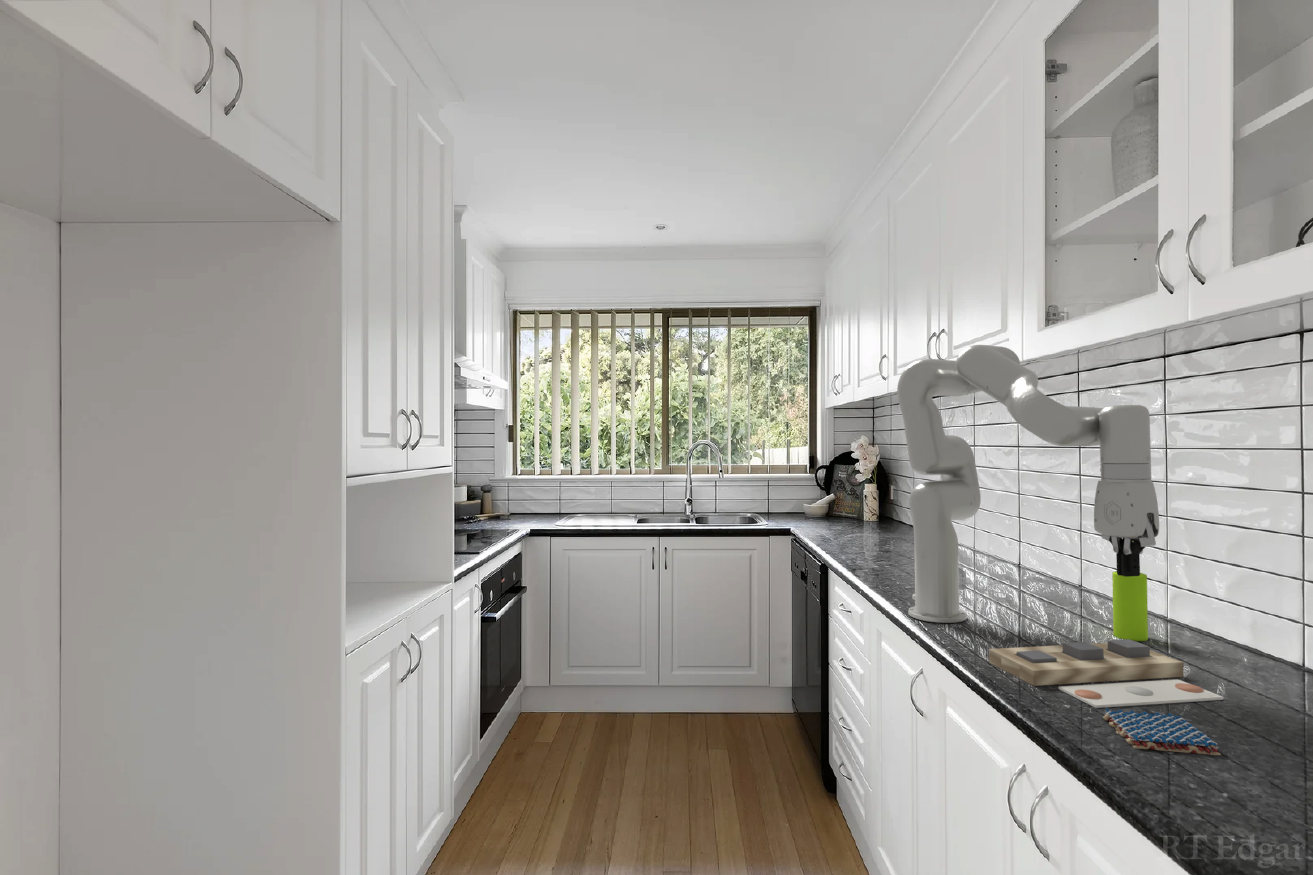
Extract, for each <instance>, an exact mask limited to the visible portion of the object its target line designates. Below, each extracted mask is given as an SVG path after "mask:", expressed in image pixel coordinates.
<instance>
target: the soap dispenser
mask: <svg viewBox="0 0 1313 875" xmlns="http://www.w3.org/2000/svg"><path fill="white" fill-rule="evenodd" d="M1111 576H1112V623H1113V624H1112V626H1113V627H1112V628H1113V629H1112V631H1113V636H1114V637H1115V638H1118V639H1120V640H1126V639H1130V640H1133V641H1135V642H1145V641H1148V639H1149V621H1148V620H1149V618H1148V617H1149V615H1148V614H1149V613H1148V610H1149V609H1148V575H1147V574H1145V573H1144V572H1143V573H1142V572H1140V575H1139V576H1130V577H1125V576H1121V575H1118V574H1117V570H1116V571H1113V572H1112V575H1111Z"/></svg>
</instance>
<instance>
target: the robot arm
mask: <svg viewBox="0 0 1313 875" xmlns="http://www.w3.org/2000/svg"><path fill="white" fill-rule="evenodd" d="M1038 385H1039V378H1038V375H1037V374H1036V373H1035V372H1034V371H1032V370H1031V369H1028V368H1027V367H1025V366H1023V365H1021V361H1020V358H1019V356H1018V355H1017V354H1016V353H1015V352H1014V350H1012V349H1011V348H1008V347H1005V346H996V345H989V344H974V345H970V346H968V347H966V348H965V349H962V350H961V352H960V353H959V354H958V356H957V358H956V360H949V359H939V358H938V359H937V358H925V359H919V360H916V361H914V362H912V363H910V364H909V365H907V366H906V368H904V370H903V371H902V373H901V374H900V377H899V379H898V383H897V388H896V389H897V391H896V392H897V400H898V404H899V408H900V411H901V415H902V420H903V424H904V433H905V439H906V440H905V441H906V448H907V454H908V459H909V463H910V466H911V469H912V471H913V472H915V473H917V474H919V475H922V476H940V478H941V480H940V479H939V480H929V481H925V482H921V483H919V484H917V485H916V486H915V487H914V488H913V490H912V491H911V492H910V495H909V498H908V506H909V512H910V516H911V520H912V528H913V546H914V548H913V549H914V553H913V554H914V593H913V594H912V595H911V598H912V600H914V601H915V602H914V606H911V607H909V608H908V610H907V611H908V612H907V613H908V615H909V616H910V617H912V618H914V619H916V620H920V621H924V622H930V623H938V624H952V623H953V624H954V623H961V622H964V621H966V620H967V619H968V615H967V612H965V611H963V610H962V609H960V571H959V568H960V567H959V564H960V563H959V540H958V535H957V532H956V529H955V527H954V525H953V521H959V520H966V519H969V518H973V516H975V515H976V514H977V513H978V511H979V510H980V507H981V496H982V495H981V489H980V483H979V478H978V472H977V470H978V469H977V465H976V464H977V463H976V460H975V455H974V451H973V449H972V448H971V446H970V444H969V443H968V442H967V441H966V440H965V439H964V438H962V437H961V436H957V435H952V434H951V435H949V434H946V433H945V429H944V424H943V417H942V414H941V411H940V410H939V407H938V405H936V403H935V401H934V400H933V397H934V396H938V397H962V396H968V395H971V394H977V393H979V392H983V393H985V394H987V395H988V396H990V397H991V398H993V399H994V400H996V401H998V402H999V403H1000V404H1002V405H1004V407H1006V410H1007V411H1008V413H1009V414H1010V415H1011V417H1012V418H1013V419H1014V421H1015V422H1016V423H1017V424H1019V426H1021V427H1022V428H1024V429H1025V430H1027V431H1028V432H1030V433H1031V434H1033V435H1035V436H1036V437H1038V438H1039V439H1041V440H1042V441H1044V442H1046V443H1048V444H1051V445H1053V446H1058V447H1093V446H1099V457H1100V458H1099V460H1100V461H1099V462H1100V468H1099V472H1100V480H1098V482H1097V484H1096V489H1095V496H1094V506H1093V507H1094V508H1093V528H1094V531H1095V532H1096V533H1098V534H1100V535H1101V538H1102V539H1103V540H1105V541H1107V542H1109V543H1110V544H1111V545H1112V550H1113V553H1115V555H1116V558H1115V560H1116V571H1117V574H1118V575H1121V576H1125V577H1130V576H1139V575H1140V573H1141V561H1140V555H1142V554H1143V553H1144V549H1145V548H1147V547H1154V546H1156V544H1157V542H1156V537H1158V536H1159V534H1160V513H1159V504H1158V500H1157V499H1158V498H1157V492H1156V487H1155V485H1154V482H1153V481H1152V464H1151V463H1152V453H1151V452H1152V451H1151V420H1150V419H1151V416H1150V411H1149V408H1147V407H1146V406H1144V405H1141V404H1123V405H1121V404H1119V405H1117V404H1116V405H1109V406H1104V407H1095V406H1093V407H1092V406H1075V405H1073V406H1072V405H1070V406H1069V405H1068V406H1066V405H1063V404H1062V403H1060V402H1058V401H1056V400H1055V399H1052V398H1051V397H1049V396H1047V395H1046V394H1044V393H1043V392H1042V391H1041V390H1039V389H1038Z"/></svg>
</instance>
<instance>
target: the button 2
mask: <svg viewBox="0 0 1313 875" xmlns="http://www.w3.org/2000/svg"><path fill="white" fill-rule="evenodd" d="M1092 644H1093V643H1089V642H1087V641H1075V642H1073V641H1072V642H1071V641H1070V642H1062V645H1063V653H1064V654H1066V655H1069V656H1071V657H1073V658H1076V659H1078V660H1080V661H1082V660H1100V659H1104V650H1103V649H1102V648H1100V647H1097V646H1095V645H1092Z"/></svg>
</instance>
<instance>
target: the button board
mask: <svg viewBox="0 0 1313 875" xmlns="http://www.w3.org/2000/svg"><path fill="white" fill-rule="evenodd" d="M1091 644H1092V645H1095V646H1097V647H1100V648H1102V649H1103V650H1104V659H1100V660H1082V661H1080V660H1078V659H1076V658H1073V657H1071V656H1069V655H1066V654H1064V653H1063V645H1060V644H1059V645H1044V646H1039V645H1037V646H1024V647H1023V646H1022V647H1019V646H1018V647H1004V648H1001V647H1000V648H989V650H988V652H989V653H988V657H989V660H988V662H989V664H991V665H993V666H994V667H997V668H998V669H1000V670H1003V671H1004V672H1006V673H1008V674H1010V675H1013V676H1014V677H1016V678H1018V679H1020V680H1022V681H1024V682H1025V683H1027V684H1029V685H1030V686H1034V687H1035V686H1037V687H1038V686H1052V685H1068V684H1069V685H1071V684H1082V683H1083V684H1086V683H1100V682H1101V683H1103V682H1117V681H1118V682H1119V681H1121V682H1122V681H1132V680H1134V681H1135V680H1136V681H1137V680H1150V679H1151V680H1152V679H1153V680H1154V679H1166V678H1167V679H1168V678H1182V677H1184V661H1182V660H1178V659H1176V658H1172V657H1169V656H1167V655H1164V654H1162V653H1158V652H1156V651H1153V650H1151V649H1150V657H1135V658H1126V657H1123V656H1121V655H1118V654H1116V653H1113V652H1110V651H1108V642H1100V643H1099V642H1098V643H1091ZM1038 650H1039V651H1042V652H1044V653H1046V654H1048V655H1051V656H1053V657H1055V658H1057V662H1046V663H1031V662H1029V661H1027V660H1025V659H1023V658H1021V657H1019V656H1017V652H1019V651H1038Z"/></svg>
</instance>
